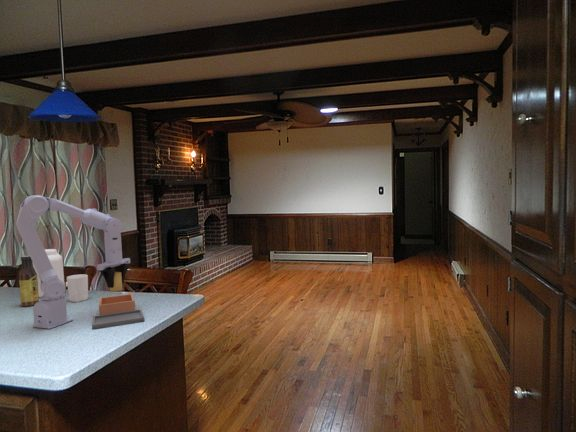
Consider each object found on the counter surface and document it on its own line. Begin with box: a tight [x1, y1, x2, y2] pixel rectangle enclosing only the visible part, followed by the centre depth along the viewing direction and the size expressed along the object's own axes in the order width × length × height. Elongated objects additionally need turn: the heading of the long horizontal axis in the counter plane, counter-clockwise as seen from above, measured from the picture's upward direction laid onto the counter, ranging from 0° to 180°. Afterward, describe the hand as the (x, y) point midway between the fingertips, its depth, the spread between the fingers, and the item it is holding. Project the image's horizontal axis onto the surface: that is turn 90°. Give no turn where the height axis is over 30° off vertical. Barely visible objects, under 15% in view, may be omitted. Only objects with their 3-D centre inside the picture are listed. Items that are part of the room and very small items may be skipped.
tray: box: [91, 309, 145, 330], centre depth 142 cm, size 11×16×1 cm
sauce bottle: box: [18, 255, 40, 307], centre depth 167 cm, size 7×6×20 cm
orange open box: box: [98, 293, 136, 315], centre depth 156 cm, size 12×12×4 cm
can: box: [32, 248, 65, 299], centre depth 184 cm, size 12×12×20 cm
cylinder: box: [108, 272, 123, 293], centre depth 154 cm, size 4×4×6 cm
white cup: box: [66, 273, 89, 303], centre depth 172 cm, size 8×8×10 cm
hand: (115, 285), depth 154 cm, fingers closed on cylinder, 4 cm apart
